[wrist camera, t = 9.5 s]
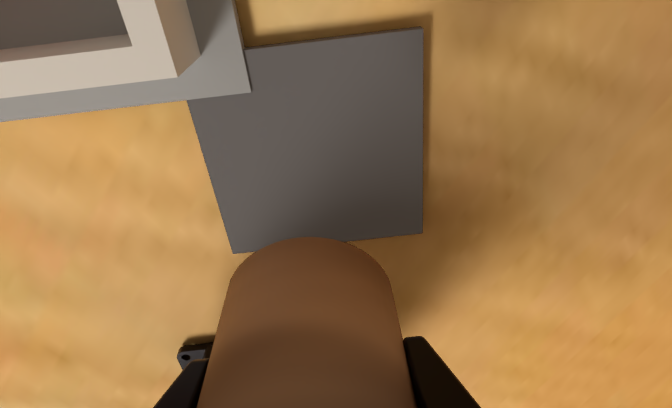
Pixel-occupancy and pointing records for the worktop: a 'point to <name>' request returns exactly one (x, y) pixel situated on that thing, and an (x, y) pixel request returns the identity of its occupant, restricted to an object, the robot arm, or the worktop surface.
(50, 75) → the grey square tray
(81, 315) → the worktop surface
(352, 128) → the pad
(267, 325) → the dowel
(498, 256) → the worktop surface
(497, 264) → the worktop surface
